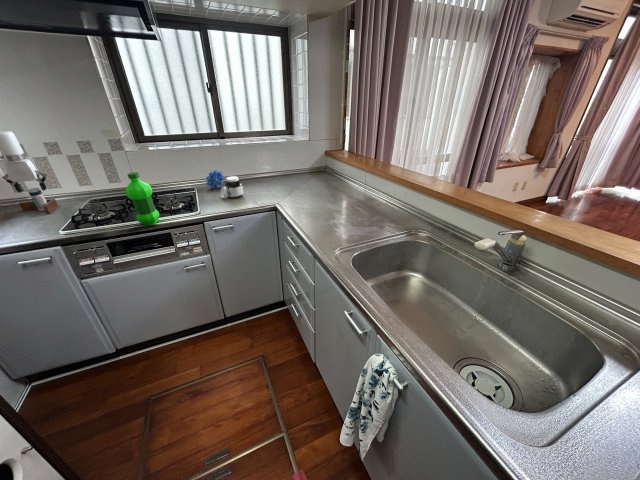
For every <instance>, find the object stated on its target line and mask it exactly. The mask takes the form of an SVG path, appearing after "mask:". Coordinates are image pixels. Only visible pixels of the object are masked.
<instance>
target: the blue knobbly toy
mask: <svg viewBox="0 0 640 480" xmlns="http://www.w3.org/2000/svg"><path fill="white" fill-rule="evenodd" d="M205 179H206V185H207V186H210V189H215V188H216V189H219V188H220V186H222V185H223V184H224V180H225V175H223V172H222V171H219V170H218V169H214V170H213V171H209V173H208V175H207V176H206V178H205Z"/></svg>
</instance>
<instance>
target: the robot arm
mask: <svg viewBox="0 0 640 480" xmlns="http://www.w3.org/2000/svg"><path fill="white" fill-rule="evenodd" d="M0 153H1V155H0V160H4V161H3V165H4V168H5V170H6V174H5V175H2V176H1V179H2V180H4V181H6V182H7V183H8V184H10V185H12V186H13V187H14V188H15V191H17V192H18V194H20V193H22V192H23V191H24V189H23V187H22V186H21V183H20V182H22V183H23V182H31V181H33V182H34V181H36V182H38V185H39V187H40V188H41V189H40V190H41V191H46V190H47V188H48V187H47V184H46V182H45V181H46V180H47V177H48V173H46V172H43V171H40V170H39V171H38V170H37V168H36V167H35V165H34V164H33V162H32V161H31V160H30V159H28V158H27V156H26V154H25V152H24V150H23V148H22V146H21V144H20V142H19V141H18V139H17V137H16V135H15V133H14V132H13V131H10V130H0ZM41 176H42V177H41Z"/></svg>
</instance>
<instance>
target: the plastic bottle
mask: <svg viewBox="0 0 640 480" xmlns="http://www.w3.org/2000/svg"><path fill="white" fill-rule="evenodd" d="M139 173H140V172H137V171H136V172H135V171H133V172H129V173H127V178H128V179H129V180H130V182H129V183H128V185H127V186H126V188H125V195H126V197H127V198H128V199H130V200H131V201H132V204H133V207H134V208H135V212H136V216H135V217H136V221H137V222H138V223H140V224H142V225H144V226H152V225H155V224H157V222H158V221H159V220H160V212H159V211H158V209H156V207H155V204H154V201H153V198H152V195H153V188H152V186H151V185H150V184H149V183H147V182H144V181H143V180H140V174H139Z"/></svg>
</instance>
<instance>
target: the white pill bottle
mask: <svg viewBox="0 0 640 480" xmlns="http://www.w3.org/2000/svg"><path fill="white" fill-rule="evenodd" d="M27 193H28V194H29V196H30V197H31V199H32V201H34V203H35V205H36V206H37V208H38V209H37V210H38V211H39V212H46V210H45V208H44V207H43V206H44V205H45V204H47V201H46V199H47V198H45V196H44V194H43V192H42V189H40V188H39V187H32V188H29V189H28V191H27Z"/></svg>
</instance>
